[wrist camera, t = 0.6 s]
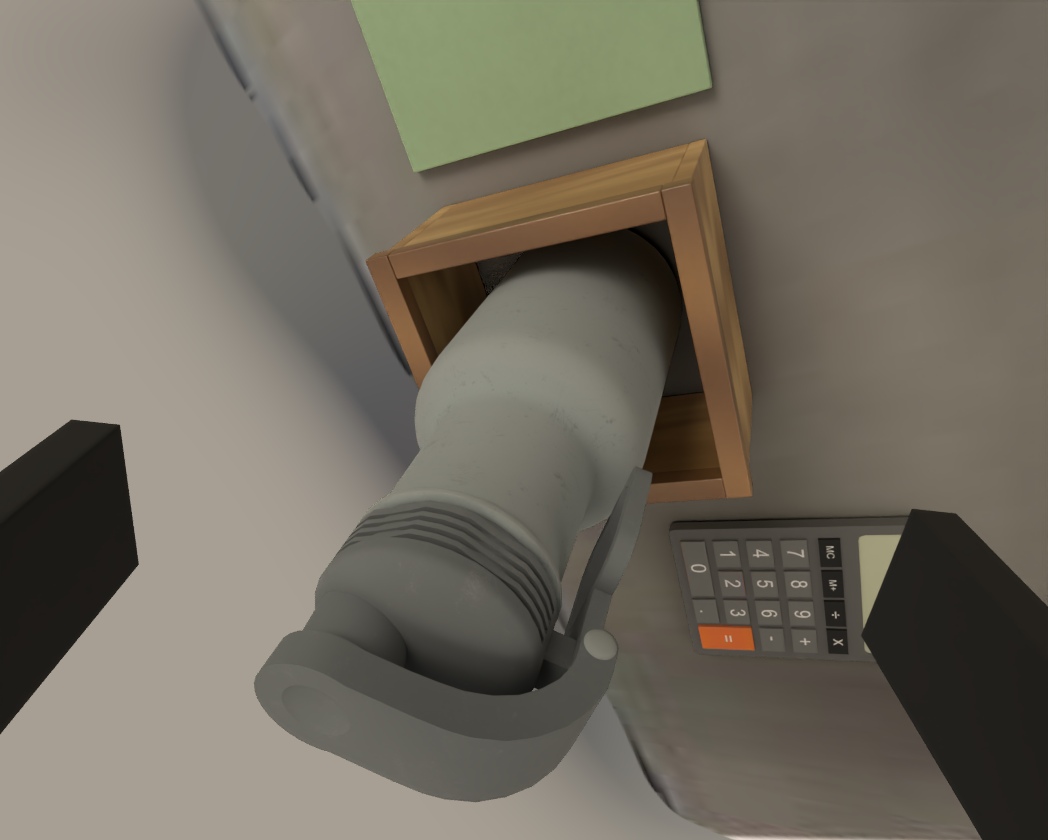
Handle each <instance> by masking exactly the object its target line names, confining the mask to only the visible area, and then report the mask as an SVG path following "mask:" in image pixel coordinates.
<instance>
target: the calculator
mask: <svg viewBox="0 0 1048 840" xmlns="http://www.w3.org/2000/svg"><path fill="white" fill-rule="evenodd" d="M908 518H909V517H892V518H850V519H808V520H766V521H724V522H681V523H672V524H671V526H670V531H669V537H670V542H671V546H672V551H673V555H674V560H675V565H676V569H677V574H678V579H679V583H680V588H681V592H682V597H683V602H684V606H685V611H686V615H687V620H688V625H689V629H690V634H691V638H692V643H693V648H694V651H695V652H696V653H697V654H702V655H725V656H747V657H770V658H793V659H815V660H838V661H860V662H876V660H875V658H874V657H873V655H872V653H871V652H870V650H869V648H868V647H867V645H866V643H865V642H864V640H863V638H862V637H861V634H862V632H863V629H864V627H865V624H866V622H867V619H868V617H869V614H870V612H871V609H872V607H873V604H874V602H875V599H876V597H877V594H878V592H879V589H880V587H881V585H882V582H883V580H884V577H885V575H886V572H887V570H888V567H889V565H890V562H891V560H892V557H893V555H894V552H895V550H896V547H897V545H898V542H899V540H900V537H901V535H902V532H903V530H904V527H905V525H906V522H907V520H908Z"/></svg>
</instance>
